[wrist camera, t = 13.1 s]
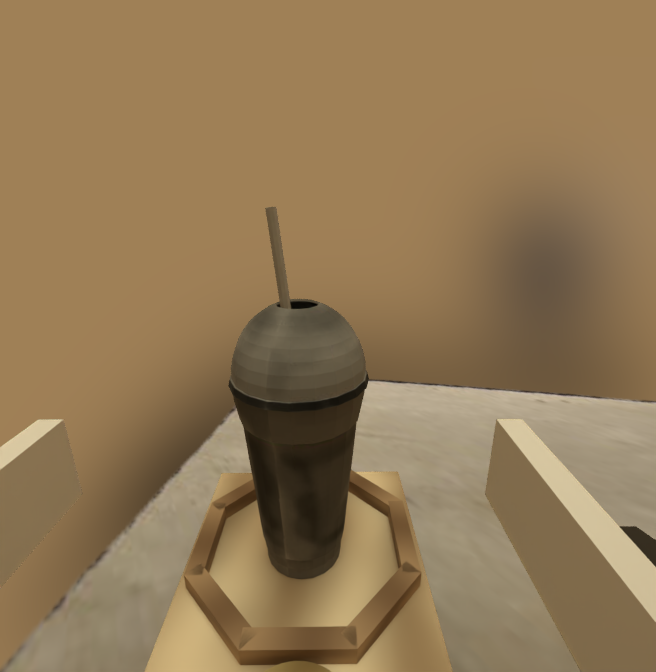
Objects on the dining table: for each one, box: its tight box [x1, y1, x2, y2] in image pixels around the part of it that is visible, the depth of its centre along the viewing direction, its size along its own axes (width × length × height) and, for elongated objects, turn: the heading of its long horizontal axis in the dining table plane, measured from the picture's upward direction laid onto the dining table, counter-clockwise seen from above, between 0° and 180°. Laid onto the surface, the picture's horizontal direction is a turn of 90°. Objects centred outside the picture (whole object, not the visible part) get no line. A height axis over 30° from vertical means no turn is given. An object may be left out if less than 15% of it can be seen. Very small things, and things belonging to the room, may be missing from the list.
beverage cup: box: [229, 207, 369, 579], centre depth 21 cm, size 7×7×20 cm
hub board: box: [145, 470, 453, 672], centre depth 21 cm, size 14×20×3 cm
